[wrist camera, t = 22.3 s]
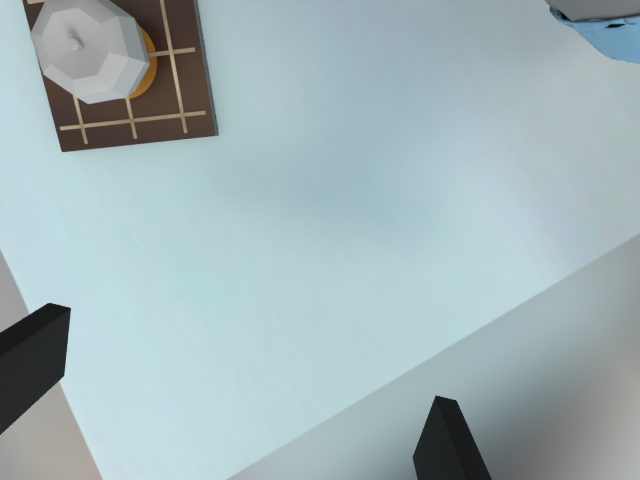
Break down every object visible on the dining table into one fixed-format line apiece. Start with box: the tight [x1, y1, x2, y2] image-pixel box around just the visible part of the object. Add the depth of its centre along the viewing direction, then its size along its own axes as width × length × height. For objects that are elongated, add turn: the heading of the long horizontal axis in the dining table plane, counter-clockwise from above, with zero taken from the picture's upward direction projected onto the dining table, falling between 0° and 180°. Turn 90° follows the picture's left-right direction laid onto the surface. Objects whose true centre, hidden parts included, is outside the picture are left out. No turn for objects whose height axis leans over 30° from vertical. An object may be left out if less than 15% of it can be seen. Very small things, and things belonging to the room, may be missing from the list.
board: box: [22, 0, 219, 152], centre depth 35 cm, size 20×14×1 cm
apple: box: [30, 0, 150, 104], centre depth 32 cm, size 8×8×7 cm
